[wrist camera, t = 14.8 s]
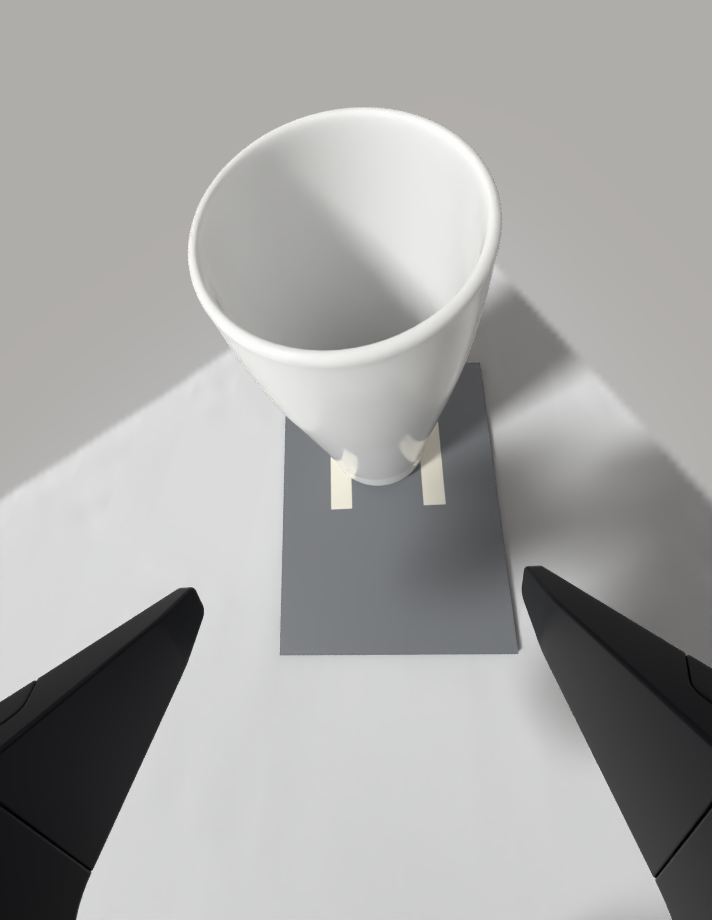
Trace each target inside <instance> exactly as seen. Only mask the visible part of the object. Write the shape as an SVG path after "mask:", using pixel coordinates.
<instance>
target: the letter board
mask: <svg viewBox="0 0 712 920" xmlns="http://www.w3.org/2000/svg"><path fill="white" fill-rule="evenodd" d="M419 654H518V648H517V640H516V633H515V625H514V617H513V610H512V602H511V595H510V587H509V580H508V572H507V565H506V557H505V550H504V542H503V535H502V527H501V520H500V512H499V504H498V497H497V489H496V482H495V474H494V467H493V459H492V452H491V444H490V437H489V429H488V422H487V414H486V407H485V399H484V391H483V384H482V376H481V369H480V363H468V364H465V366H464V368H463V371H462V373H461V375H460V378H459V380H458V382H457V384H456V386H455V388H454V391H453V393H452V395H451V396H450V398H449V400H448V402H447V404H446V406H445V408H444V410H443V412H442V414H441V416H440V418H439V419H438V421H437V423H436V425H435V427H434V429H433V431H432V433H431V435H430V437H429V439H428V441H427V443H426V445H425V450H424V453H423V456H422V458H421V460H420V462H419V464H418V465H417V467H416V468H415V469H414V470H413V471H412V472H411V473H410V474H409V475H408V476H407V477H405V478H404V479H402V480H400V481H398V482H396V483H393V484H389V485H384V486H371V485H366V484H363V483H360V482H358V481H355V480H354V479H352V478H351V477H349V476H348V475H347V474H346V473H344V471H343V470H342V469H341V468H340V467H339V465H338V464H337V462H336V461H335V460H334V459H333V458H332V457H330V456H329V455H328V454H327V453H326V452H325V451H324V450H323V449H322V448H321V447H320V446H319V445H317V444H316V443H315V442H314V441H313V440H312V439H311V438H310V437H308V436H307V435H306V434H305V433H304V432H303V431H302V430H301V429H300V428H298V427H297V426H296V425H295V424H294V423H293V422H292V421H291V420H290V419H289V418H288V417H287V416H286V424H285V465H284V507H283V549H282V591H281V632H280V655H419Z"/></svg>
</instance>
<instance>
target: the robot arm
mask: <svg viewBox="0 0 712 920" xmlns="http://www.w3.org/2000/svg"><path fill="white" fill-rule="evenodd" d="M522 596H523V600H524V603H525V605H526V608H527V611H528V614H529V617H530V619H531V622H532V625H533V628H534V631H535V633H536V636H537V639H538V642H539V644H540V647H541V650H542V652H543V654H544V656H545V658H546V660H547V662H548V664H549V667H550V669H551V671H552V673H553V675H554V677H555V679H556V681H557V683H558V685H559V687H560V689H561V691H562V693H563V695H564V697H565V699H566V701H567V703H568V705H569V707H570V709H571V711H572V713H573V715H574V717H575V719H576V721H577V723H578V725H579V727H580V729H581V731H582V733H583V735H584V737H585V739H586V741H587V743H588V745H589V747H590V749H591V752H592V754H593V756H594V758H595V760H596V762H597V764H598V766H599V768H600V770H601V772H602V774H603V776H604V778H605V780H606V782H607V784H608V786H609V788H610V790H611V792H612V794H613V796H614V798H615V800H616V802H617V804H618V806H619V808H620V810H621V812H622V814H623V816H624V818H625V820H626V822H627V824H628V826H629V828H630V830H631V832H632V834H633V837H634V839H635V841H636V843H637V845H638V847H639V849H640V851H641V853H642V855H643V857H644V859H645V861H646V863H647V865H648V867H649V869H650V871H651V873H652V875H653V877H655V878H656V879H655V881H656V883H657V885H658V887H659V889H660V892H661V894H662V896H663V898H664V901H665V903H666V905H667V908H668V910H669V913H670V915H671V918H672V920H712V668H710V667H708V666H707V665H705V664H703V663H702V662H700V661H698V660H697V659H695V658H694V657H692V656H690V655H687V656H686V654H685V653H684V652H683V651H681V650H679V649H678V648H676V647H674V646H673V645H671V644H669V643H668V642H666V641H664V640H663V639H661V638H660V637H658V636H656V635H655V634H653V633H651V632H650V631H648V630H646V629H645V628H643V627H641V626H640V625H638V624H636V623H635V622H633V621H632V620H630V619H628V618H627V617H625V616H623V615H622V614H620V613H618V612H617V611H615V610H613V609H612V608H610V607H609V606H607V605H605V604H604V603H602V602H600V601H599V600H597V599H595V598H594V597H592V596H590V595H589V594H587V593H585V592H584V591H582V590H581V589H579V588H577V587H576V586H574V585H572V584H571V583H569V582H567V581H566V580H564V579H562V578H561V577H559V576H558V575H556V574H554V573H553V572H551V571H549V570H548V569H546V568H544V567H542V566H527V567H526V568H525V569H524V574H523V582H522ZM203 616H204V607H203V605H202V602H201V600H200V598H199V596H198V594H197V592H196V590H195V589H194V588H192V587H188V588H179V589H177V590H175V591H174V592H172V593H171V594H169V595H168V596H166V597H165V598H163V599H161V600H160V601H158V602H157V603H155V604H154V605H152V606H151V607H149V608H147V609H146V610H144V611H143V612H141V613H140V614H138V615H136V616H135V617H133V618H132V619H130V620H129V621H127V622H126V623H124V624H122V625H121V626H119V627H118V628H116V629H115V630H113V631H112V632H110V633H108V634H107V635H105V636H104V637H102V638H101V639H99V640H97V641H96V642H94V643H93V644H91V645H90V646H88V647H87V648H85V649H83V650H82V651H80V652H79V653H77V654H76V655H74V656H73V657H71V658H69V659H68V660H66V661H65V662H63V663H62V664H60V665H58V666H57V667H55V668H54V669H52V670H51V671H49V672H48V673H46V674H44V675H43V676H41V677H40V678H38V680H37V681H33V682H31V683H29V684H28V685H26V686H25V687H23V688H22V689H20V690H19V691H17V692H15V693H14V694H12V695H11V696H9V697H7V698H6V699H4V700H3V701H1V702H0V920H76V918H77V913H78V909H79V905H80V901H81V898H82V895H83V892H84V890H85V887H86V884H87V882H88V880H89V877H90V875H91V871H92V870H93V868H94V866H95V864H96V862H97V860H98V858H99V855H100V853H101V851H102V849H103V847H104V844H105V842H106V840H107V838H108V836H109V834H110V831H111V829H112V827H113V825H114V823H115V821H116V818H117V816H118V814H119V812H120V810H121V807H122V805H123V803H124V801H125V799H126V797H127V794H128V792H129V790H130V788H131V786H132V783H133V781H134V779H135V777H136V775H137V773H138V770H139V768H140V766H141V764H142V762H143V759H144V757H145V755H146V753H147V751H148V749H149V746H150V744H151V742H152V740H153V738H154V735H155V733H156V731H157V729H158V727H159V725H160V722H161V720H162V718H163V716H164V714H165V711H166V709H167V707H168V705H169V703H170V701H171V698H172V696H173V694H174V692H175V690H176V687H177V685H178V683H179V681H180V679H181V677H182V674H183V672H184V670H185V667H186V665H187V663H188V660H189V657H190V654H191V651H192V648H193V646H194V643H195V640H196V637H197V634H198V631H199V628H200V625H201V622H202V619H203Z"/></svg>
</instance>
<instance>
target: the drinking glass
mask: <svg viewBox="0 0 712 920" xmlns="http://www.w3.org/2000/svg"><path fill="white" fill-rule="evenodd" d="M501 230H502V213H501V204H500V199H499V194H498V191H497V188H496V185H495V182H494V180H493V178H492V176H491V174H490V172H489V170H488V168H487V166H486V165H485V164H484V162H483V161H482V159H481V158H480V157H479V155H478V154H477V153H476V152H475V151H474V149H473V148H472V147H471V146H470V145H468V144H467V143H466V142H465V141H464V140H463V139H462V138H460V137H459V136H458V135H456V134H455V133H454V132H452V131H451V130H449V129H447V128H446V127H444V126H442V125H440V124H438V123H436V122H434V121H432V120H430V119H427V118H425V117H422V116H419V115H416V114H412V113H409V112H405V111H399V110H395V109H388V108H378V107H352V108H342V109H334V110H329V111H323V112H320V113H315V114H312V115H308V116H305V117H302V118H299V119H297V120H294V121H291V122H289V123H287V124H284V125H282V126H280V127H278V128H276V129H274V130H272V131H270V132H268V133H266V134H265V135H263V136H261V137H260V138H258V139H257V140H255V141H254V142H252V143H251V144H249V145H248V146H247V147H245V148H244V149H243V150H242V151H240V152H239V153H238V154H237V155H236V156H235V157H234V158H233V159H231V160H230V161H229V162H228V163H227V165H226V166H225V167H224V168H223V169H222V170H221V171H220V172H219V174H218V175H217V176H216V178H215V179H214V180H213V181H212V183H211V184H210V186H209V187H208V189H207V190H206V192H205V194H204V195H203V198H202V199H201V201H200V203H199V206H198V208H197V210H196V213H195V215H194V218H193V222H192V225H191V230H190V235H189V242H188V264H189V270H190V276H191V280H192V283H193V287H194V289H195V291H196V294H197V296H198V299H199V301H200V303H201V304H202V306H203V307H204V309H205V311H206V313H207V314H208V315H209V317H210V318H211V319H212V321H213V322H214V324H215V325H216V327H217V328H218V330H219V331H220V333H221V334H222V336H223V337H224V339H225V340H226V342H227V343H228V345H229V346H230V348H231V349H232V351H233V352H234V354H235V355H236V356H237V358H238V359H239V360H240V362H241V363H242V365H243V366H244V367H245V369H246V370H247V371H248V373H249V374H250V375H251V376H252V378H253V379H254V380H255V382H256V383H257V384H258V385H259V387H260V388H261V389H262V390H263V392H264V393H265V394H266V395H267V396H268V397H269V398H270V400H271V401H272V402H273V403H274V404H275V405H276V406H277V407H278V408H279V409H280V410H281V411H282V412H283V413H284V414H285V415H286V416H287V417H288V418H289V419H290V420H291V421H292V422H293V423H294V424H295V425H296V426H297V427H298V428H300V429H301V430H302V431H303V432H304V433H305V434H306V435H307V436H308V437H310V438H311V439H312V440H313V441H314V442H315V443H316V444H317V445H319V446H320V447H321V448H322V449H323V450H324V451H325V452H326V453H327V454H328V455H329V456H330V457H332V458H333V459H334V460H335V461H336V462H337V464H338V465H339V467H340V468H341V469H342V470H343V471H344V473H346V474H347V475H348V476H349V477H351V478H352V479H354V480H355V481H358V482H360V483H363V484H366V485H371V486H384V485H389V484H393V483H396V482H398V481H400V480H402V479H404V478H405V477H407V476H408V475H409V474H410V473H411V472H412V471H413V470H414V469H415V468H416V467H417V465H418V464H419V462H420V460H421V458H422V456H423V453H424V450H425V445H426V443H427V441H428V439H429V437H430V435H431V433H432V431H433V429H434V427H435V425H436V423H437V421H438V419H439V418H440V416H441V414H442V412H443V410H444V408H445V406H446V404H447V402H448V400H449V398H450V396H451V395H452V393H453V391H454V388H455V386H456V384H457V382H458V380H459V378H460V375H461V373H462V371H463V368H464V366H465V364H466V361H467V359H468V356H469V353H470V351H471V348H472V345H473V342H474V339H475V336H476V332H477V329H478V326H479V323H480V319H481V316H482V312H483V309H484V305H485V301H486V297H487V294H488V290H489V285H490V281H491V277H492V273H493V268H494V264H495V260H496V256H497V253H498V249H499V244H500V238H501Z"/></svg>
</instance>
